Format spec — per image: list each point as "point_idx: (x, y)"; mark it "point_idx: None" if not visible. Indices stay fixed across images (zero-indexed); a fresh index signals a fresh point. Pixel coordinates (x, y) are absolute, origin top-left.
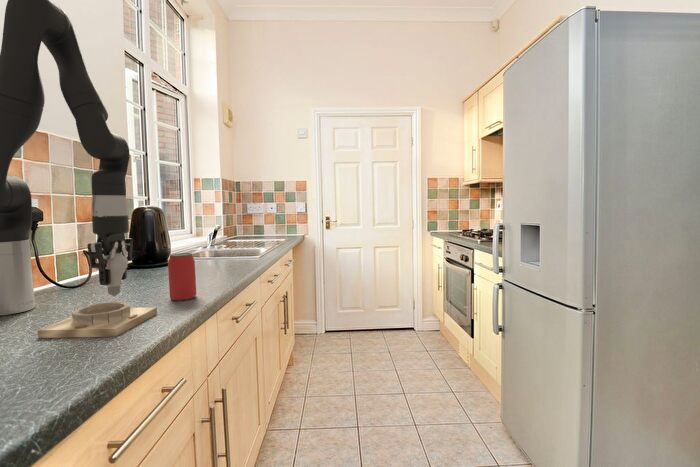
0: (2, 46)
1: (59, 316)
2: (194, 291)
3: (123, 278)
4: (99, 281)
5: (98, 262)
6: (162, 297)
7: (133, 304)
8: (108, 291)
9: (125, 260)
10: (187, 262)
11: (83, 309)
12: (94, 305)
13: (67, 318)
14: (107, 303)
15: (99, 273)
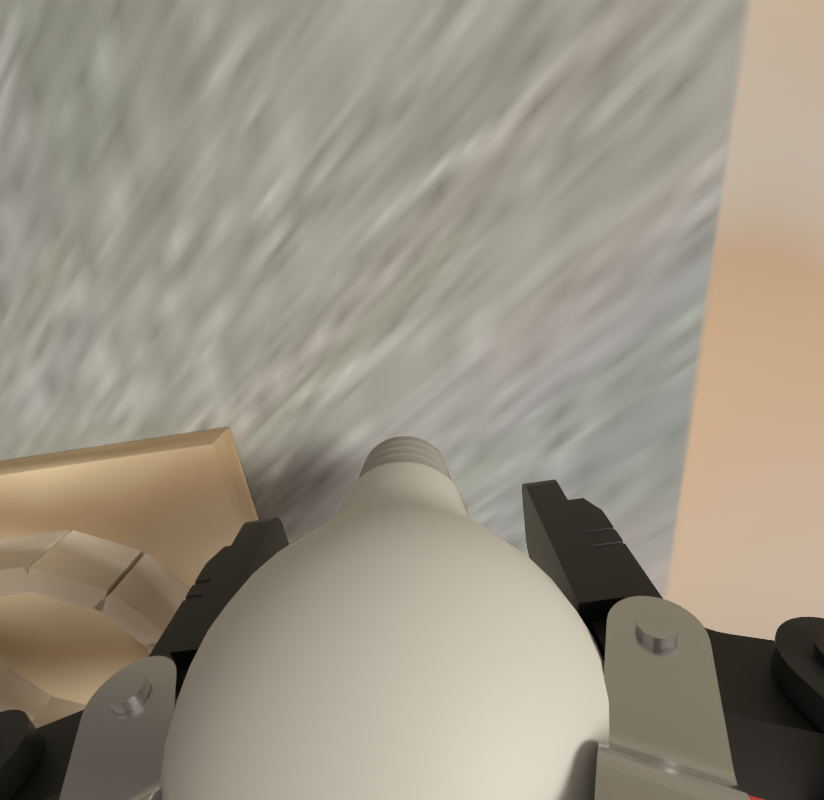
0: None
1: (143, 221)
2: None
3: (530, 548)
4: (207, 563)
5: (74, 797)
6: (655, 549)
7: (479, 490)
8: (364, 466)
9: None
10: None
11: (6, 592)
12: (81, 600)
13: (1, 477)
14: (144, 636)
15: (165, 640)
